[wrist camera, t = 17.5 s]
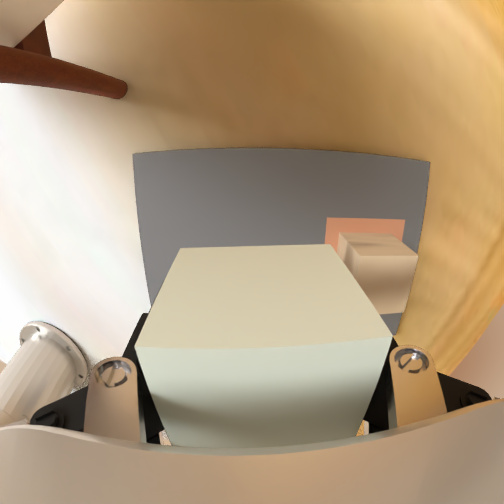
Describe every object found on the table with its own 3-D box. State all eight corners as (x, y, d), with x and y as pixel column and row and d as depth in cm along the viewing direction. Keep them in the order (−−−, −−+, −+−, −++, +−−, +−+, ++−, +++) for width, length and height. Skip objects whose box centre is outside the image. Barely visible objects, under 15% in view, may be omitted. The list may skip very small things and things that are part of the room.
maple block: (381, 283, 32) (404, 312, 26) (332, 285, 31) (349, 316, 26) (390, 233, 29) (418, 255, 24) (339, 232, 29) (360, 256, 24)
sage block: (316, 356, 12) (345, 456, 7) (196, 360, 12) (181, 464, 7) (330, 243, 10) (393, 335, 5) (180, 248, 10) (134, 346, 5)
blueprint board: (392, 330, 36) (395, 335, 35) (160, 339, 35) (158, 344, 34) (425, 161, 27) (430, 162, 26) (136, 153, 26) (132, 154, 25)
